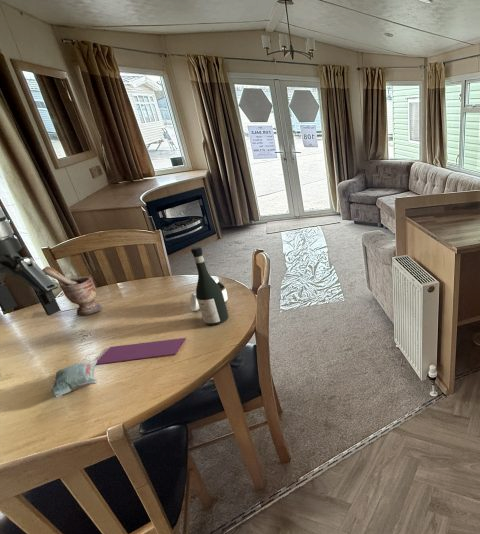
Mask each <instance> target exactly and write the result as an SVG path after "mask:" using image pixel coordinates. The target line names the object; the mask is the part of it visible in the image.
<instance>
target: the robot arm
mask: <svg viewBox="0 0 480 534" xmlns="http://www.w3.org/2000/svg"><path fill="white" fill-rule="evenodd" d="M10 223H11V222H10V220H8V218H7V216H6V214H5V213H4V210H3V209H2V207H1V205H0V309H1V310H2V312H6V311H9V310H12V309H14V308H16V307H18V304H17V302H16V300H15V299H14V297H13V296H12V293H11V292H10V290H9V288H8V286H7V285H6V284H7V283H5V282H4V281H5V277H6V274H10V275H11V276H13V277H17V278H19V279H20V280H21V281H23V283H25V284H27V285H28V286H29V287H30V288H31V289H32V290H34V291H35V292H36V294H35V296H36V297H37V299H38V301H39V303H40V305H41V307H42V308H43V310H44V312H45V314H46V316H48V317H49V316H52V315H54V314H56V313H58V312H60V311H61V308H60V306H59V303H58V302H57V299H56V297H55V294H54V293H53V291H54V290H56V289H58V288H59V287H58V285H57V284H56V283H55V282H54V281H53V280H52V279H51V277H50V276H48V275H46V274H45V273H44V272H43V269H42V268H41V267H40V266H39V265H38V263H37V262H36V261H35V259H34V258H33V257H32V256H31V255H28V256H24V257H22V256H21V255H20V253H19V251H21V250H22V248H23V246H22V244H21V243H20V240H19V239H18V236H17V235H14V234H15V231H14V230H13V227H12V225H11V224H10Z"/></svg>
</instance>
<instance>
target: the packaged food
mask: <svg viewBox="0 0 480 534" xmlns="http://www.w3.org/2000/svg"><path fill="white" fill-rule="evenodd" d="M97 360H98V359H96V358H95V359H92V360H91V361H86V362H80V363H79V362H76V363H73V364H71V365H69V366H67V367H64V368H62V369H59V370H58V371H56V372H55V377H54V378H55V379H54V383H53V386H52V388H51V393H52V394H53V395H54V396H55V397H56V398H61V397H62V395H65V394H68V393H71V392H75V391H77V390H79V389H82V388H85V387H88V386H90V385H97V384H98V380H97V378H95V373H94V371H95V368H96V366H97V365H96V363H97Z"/></svg>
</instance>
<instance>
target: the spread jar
mask: <svg viewBox="0 0 480 534" xmlns="http://www.w3.org/2000/svg"><path fill="white" fill-rule="evenodd" d="M210 276H211V277H212V278H213V280H214V281H215V282H216V283H217V284H218V285H219V287H220V289H221V291H222V294H223V297H224V301H225V304H226V303H227V301H228V300H229V298H228V293H227V288H226V287H225V285H224V284H223V283H222V282H221V281H220V280H219V277H218V276H216V275H210ZM189 307H190V308H189V309H190V310H191V311H192V312H198V311H200V307H199V304H198V301H197V298H196V293H192V294H191V295H190V297H189Z"/></svg>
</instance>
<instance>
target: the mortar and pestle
mask: <svg viewBox="0 0 480 534" xmlns="http://www.w3.org/2000/svg"><path fill="white" fill-rule="evenodd" d="M42 270H43V272H44V273H45V274H46V275H47V276H48V277H49V278H52V279H55V280H57V281H59V282H60V285H59V287H60V289H61V290H62V292H63V294H64V296H65V297H66V298H67V299H68V300H69V301H70V303H72V304H74V305H78V307H77V309H76V314H77V315H78V316H87V315H91V314H94V313H98V312H101V311H102V309H103V305H102V304H101V303H99V302H96V301H95V300H96V298H97V296H98V293H97V288H96V285H95V283H94V280H93V278H92V277H90V276H79V277H74V278H71V279H69V278H67V277H66V276H65V275H63V274H61V273H60V272H59V271H57V270H56V269H55V268H54V267H51V266H46V267H44V268H43V269H42Z"/></svg>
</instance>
